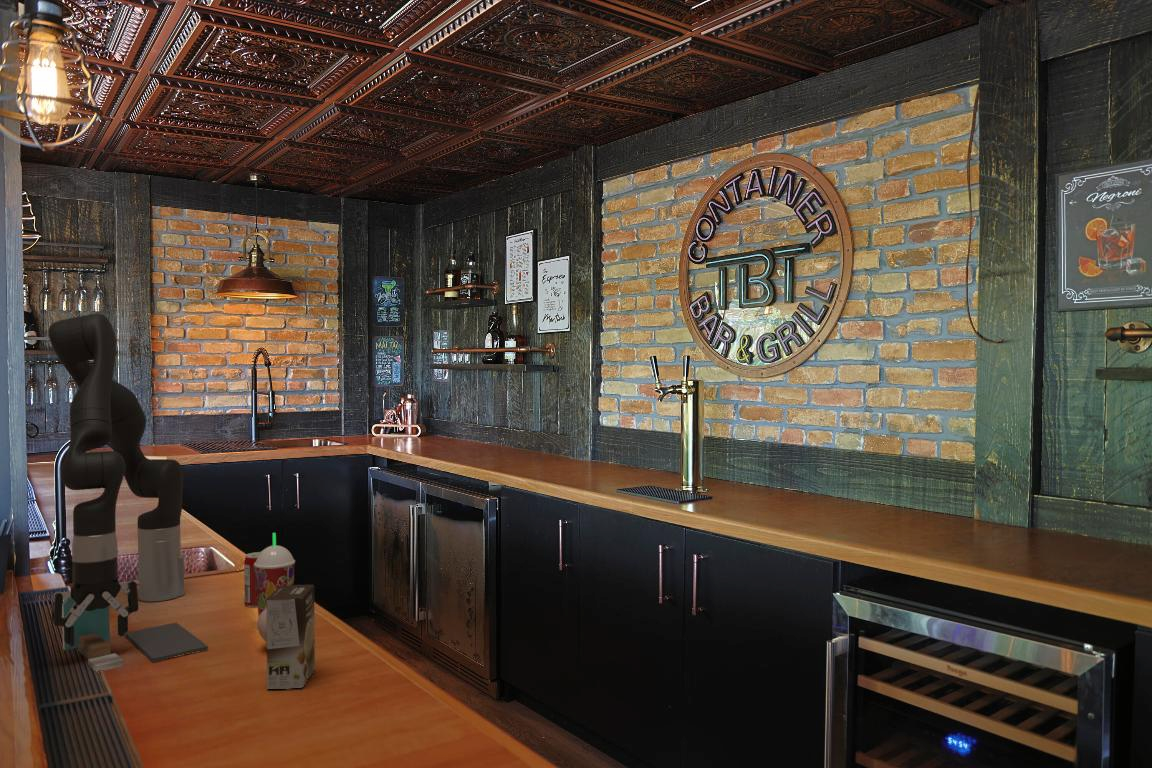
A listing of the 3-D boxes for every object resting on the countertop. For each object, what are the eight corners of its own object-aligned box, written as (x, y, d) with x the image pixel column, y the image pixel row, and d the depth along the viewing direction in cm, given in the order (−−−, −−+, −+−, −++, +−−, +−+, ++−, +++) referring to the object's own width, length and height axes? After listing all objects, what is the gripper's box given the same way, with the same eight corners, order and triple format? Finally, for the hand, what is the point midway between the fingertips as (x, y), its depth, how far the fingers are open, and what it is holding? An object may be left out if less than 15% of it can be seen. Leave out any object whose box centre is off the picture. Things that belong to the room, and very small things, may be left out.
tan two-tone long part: (73, 652, 164) (73, 637, 164) (99, 646, 167) (99, 631, 167) (96, 672, 153) (95, 656, 153) (123, 666, 157) (123, 650, 156)
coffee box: (304, 689, 145) (302, 598, 144) (266, 691, 144) (264, 599, 144) (316, 670, 154) (314, 583, 154) (280, 671, 154) (279, 584, 153)
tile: (107, 639, 171) (106, 586, 171) (109, 641, 170) (108, 587, 170) (63, 648, 166) (61, 593, 166) (64, 650, 165) (63, 595, 164)
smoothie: (304, 621, 182) (302, 530, 182) (278, 633, 174) (277, 538, 174) (272, 617, 185) (271, 528, 184) (246, 629, 177) (244, 535, 176)
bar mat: (176, 626, 179) (176, 622, 179) (207, 650, 165) (207, 646, 165) (125, 636, 173) (125, 632, 173) (153, 662, 158) (153, 658, 158)
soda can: (275, 602, 196) (274, 552, 196) (257, 609, 191) (256, 557, 191) (257, 599, 199) (256, 549, 198) (239, 606, 194) (238, 554, 193)
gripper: (131, 547, 167) (132, 628, 167) (47, 558, 158) (49, 643, 158) (141, 553, 161) (142, 637, 162) (55, 565, 152) (57, 654, 152)
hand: (96, 640), depth 160 cm, fingers open, 8 cm apart
